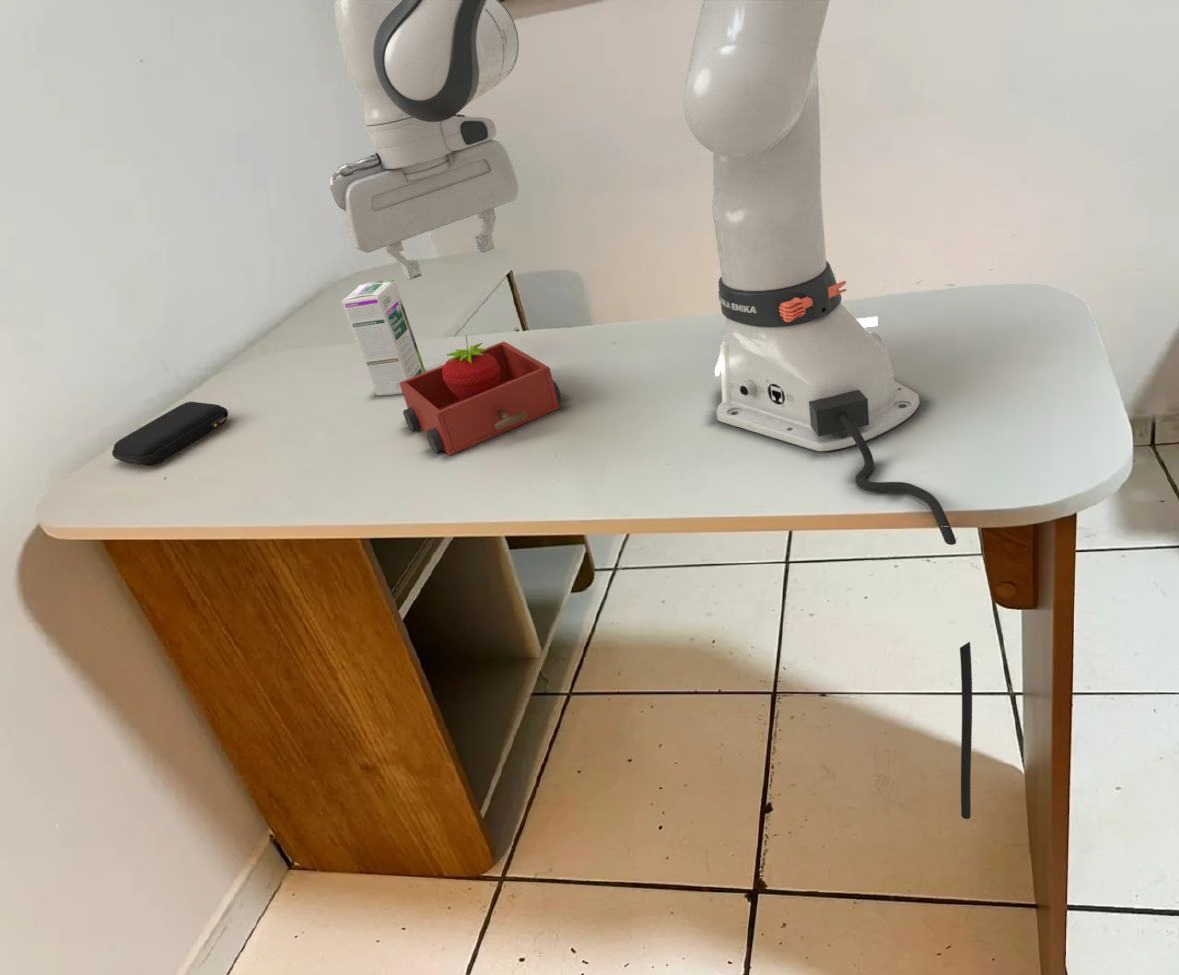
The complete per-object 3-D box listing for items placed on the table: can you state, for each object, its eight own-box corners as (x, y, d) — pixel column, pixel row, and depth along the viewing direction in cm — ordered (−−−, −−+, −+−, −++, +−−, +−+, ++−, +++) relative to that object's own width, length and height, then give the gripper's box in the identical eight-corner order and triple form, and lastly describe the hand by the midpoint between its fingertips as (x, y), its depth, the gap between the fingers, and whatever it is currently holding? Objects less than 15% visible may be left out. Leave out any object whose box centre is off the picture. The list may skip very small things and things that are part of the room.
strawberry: (467, 400, 122) (446, 328, 117) (518, 399, 119) (498, 326, 114) (445, 422, 117) (422, 348, 112) (497, 422, 114) (476, 346, 109)
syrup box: (413, 393, 129) (380, 293, 122) (374, 396, 131) (340, 298, 123) (427, 374, 134) (396, 277, 127) (390, 378, 135) (357, 283, 128)
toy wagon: (579, 413, 113) (569, 371, 110) (452, 469, 107) (438, 426, 104) (520, 376, 126) (510, 338, 124) (404, 424, 121) (391, 385, 118)
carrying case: (157, 473, 123) (243, 420, 133) (147, 453, 122) (234, 401, 132) (111, 465, 129) (197, 414, 139) (101, 445, 127) (188, 396, 137)
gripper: (332, 172, 96) (376, 299, 103) (506, 116, 103) (537, 238, 110) (316, 168, 101) (360, 289, 108) (484, 115, 108) (515, 232, 115)
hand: (450, 263), depth 109 cm, fingers open, 8 cm apart
